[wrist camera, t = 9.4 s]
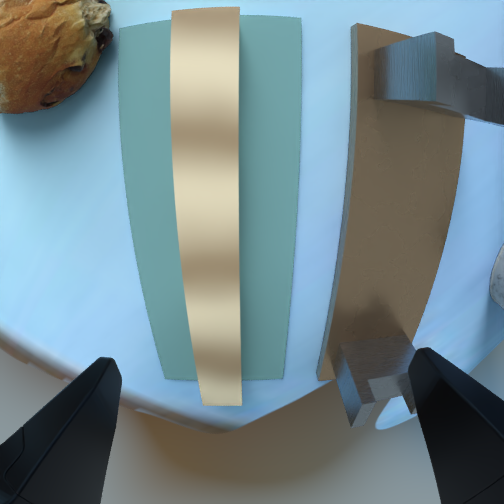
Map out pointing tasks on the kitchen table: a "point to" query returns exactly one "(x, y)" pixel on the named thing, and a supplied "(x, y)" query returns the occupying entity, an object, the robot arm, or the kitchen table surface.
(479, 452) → the robot arm
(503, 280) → the grey stone cylinder
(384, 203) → the bracketed wooden plank
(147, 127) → the mat
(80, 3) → the bread roll
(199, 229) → the rail
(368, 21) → the kitchen table surface
